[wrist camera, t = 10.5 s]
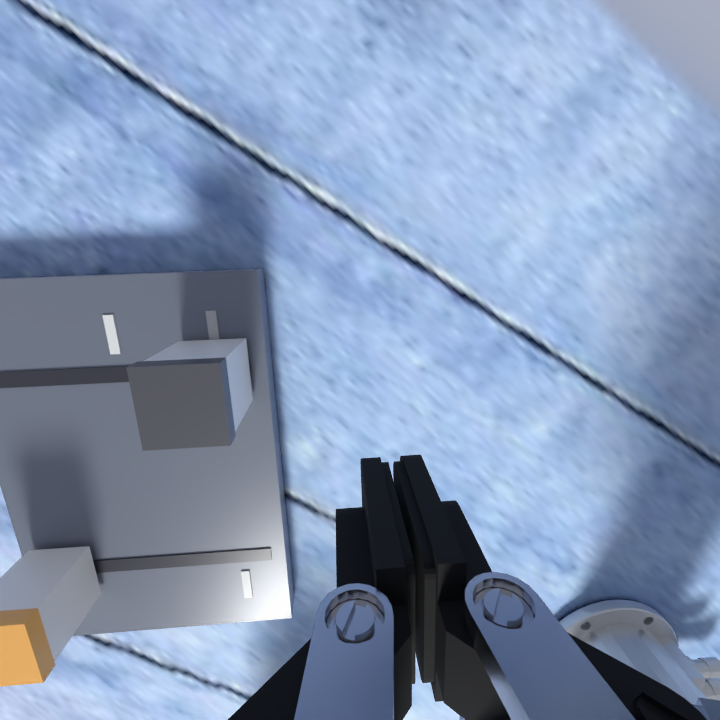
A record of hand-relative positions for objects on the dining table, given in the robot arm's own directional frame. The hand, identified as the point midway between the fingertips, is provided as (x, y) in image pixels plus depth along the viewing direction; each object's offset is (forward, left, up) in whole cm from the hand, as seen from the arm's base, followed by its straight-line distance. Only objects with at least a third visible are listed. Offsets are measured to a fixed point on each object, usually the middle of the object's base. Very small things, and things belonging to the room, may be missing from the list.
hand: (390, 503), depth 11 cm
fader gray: (+9, 0, -15) cm, 17 cm away
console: (+15, +7, -17) cm, 24 cm away
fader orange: (+21, +14, -14) cm, 29 cm away
